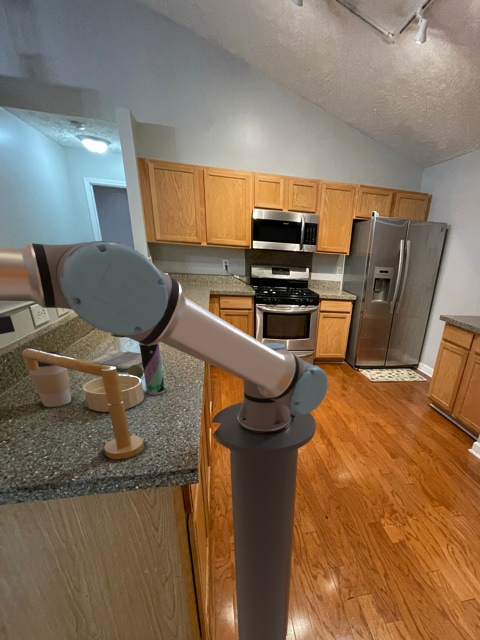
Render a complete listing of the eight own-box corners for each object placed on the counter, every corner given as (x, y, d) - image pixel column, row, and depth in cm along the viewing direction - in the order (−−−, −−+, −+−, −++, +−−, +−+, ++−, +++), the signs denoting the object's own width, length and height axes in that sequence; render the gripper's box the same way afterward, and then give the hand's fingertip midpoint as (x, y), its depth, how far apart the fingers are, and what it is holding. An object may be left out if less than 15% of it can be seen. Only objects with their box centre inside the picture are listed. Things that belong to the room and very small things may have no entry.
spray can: (143, 393, 103) (133, 332, 95) (155, 387, 108) (146, 328, 100) (157, 396, 102) (148, 334, 93) (168, 390, 106) (160, 330, 98)
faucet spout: (125, 400, 69) (119, 366, 66) (114, 405, 67) (107, 370, 64) (39, 377, 79) (30, 346, 75) (27, 381, 76) (17, 349, 73)
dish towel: (129, 372, 119) (128, 364, 118) (87, 367, 122) (85, 359, 120) (158, 359, 136) (157, 351, 135) (120, 355, 138) (119, 347, 137)
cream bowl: (153, 394, 102) (151, 377, 100) (124, 415, 89) (120, 395, 86) (110, 390, 104) (106, 373, 101) (74, 410, 90) (69, 390, 88)
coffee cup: (78, 394, 99) (66, 348, 93) (72, 406, 92) (59, 356, 86) (43, 397, 96) (29, 349, 90) (34, 410, 89) (17, 358, 82)
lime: (146, 378, 115) (144, 365, 113) (132, 381, 112) (130, 367, 110) (140, 374, 118) (138, 362, 116) (127, 377, 115) (125, 364, 112)
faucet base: (150, 442, 77) (143, 397, 72) (130, 461, 70) (121, 412, 65) (120, 438, 78) (110, 394, 73) (97, 457, 70) (85, 408, 66)
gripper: (-231, 384, 37) (-13, 340, 59) (-150, 398, 35) (46, 347, 56) (-275, 320, 34) (-28, 298, 56) (-189, 331, 32) (33, 304, 53)
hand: (9, 323), depth 56 cm, fingers closed
